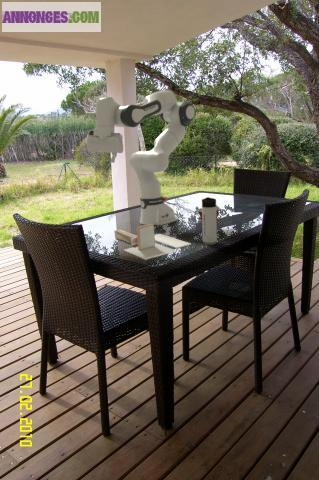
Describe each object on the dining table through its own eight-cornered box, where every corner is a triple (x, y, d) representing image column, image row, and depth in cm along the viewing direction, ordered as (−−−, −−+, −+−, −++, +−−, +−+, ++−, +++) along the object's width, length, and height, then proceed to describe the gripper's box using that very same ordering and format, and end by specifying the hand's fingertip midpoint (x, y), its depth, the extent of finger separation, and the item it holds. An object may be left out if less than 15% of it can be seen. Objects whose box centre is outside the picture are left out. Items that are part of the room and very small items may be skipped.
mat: (153, 243, 181) (153, 242, 181) (177, 252, 166) (177, 250, 166) (123, 251, 172) (123, 249, 172) (145, 261, 158) (145, 259, 158)
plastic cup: (203, 228, 202) (202, 205, 199) (223, 230, 197) (223, 206, 193) (194, 233, 193) (193, 209, 190) (214, 235, 188) (214, 211, 185)
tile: (153, 245, 176) (151, 223, 173) (155, 246, 174) (154, 224, 172) (138, 249, 171) (136, 227, 168) (140, 250, 170) (138, 227, 167)
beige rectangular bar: (123, 236, 195) (122, 228, 194) (143, 244, 180) (143, 236, 179) (112, 239, 192) (111, 231, 191) (132, 247, 177) (131, 238, 176)
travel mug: (215, 240, 181) (214, 196, 175) (217, 244, 174) (217, 199, 169) (201, 241, 181) (200, 197, 175) (203, 245, 174) (202, 200, 169)
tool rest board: (160, 235, 193) (160, 233, 193) (191, 245, 174) (191, 243, 174) (146, 238, 189) (146, 236, 189) (176, 249, 170) (176, 247, 170)
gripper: (126, 133, 186) (125, 163, 189) (93, 132, 197) (93, 161, 200) (118, 132, 181) (117, 163, 184) (85, 132, 192) (85, 161, 195)
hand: (104, 162), depth 192 cm, fingers open, 8 cm apart
